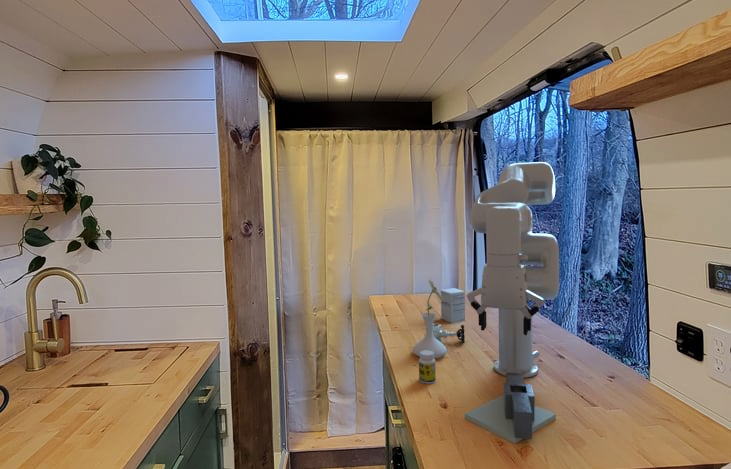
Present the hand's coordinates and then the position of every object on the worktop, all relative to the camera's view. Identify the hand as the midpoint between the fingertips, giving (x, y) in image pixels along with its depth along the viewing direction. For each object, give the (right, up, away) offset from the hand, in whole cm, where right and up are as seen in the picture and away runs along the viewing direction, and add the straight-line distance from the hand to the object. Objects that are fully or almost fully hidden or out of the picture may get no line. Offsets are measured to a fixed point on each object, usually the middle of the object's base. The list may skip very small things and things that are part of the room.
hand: (504, 330), depth 104 cm
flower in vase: (-11, -18, +44) cm, 49 cm away
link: (+3, -20, 0) cm, 20 cm away
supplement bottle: (-15, -20, +24) cm, 34 cm away
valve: (-3, -16, +54) cm, 57 cm away
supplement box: (+4, -13, +81) cm, 82 cm away
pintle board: (+3, -21, +3) cm, 21 cm away
